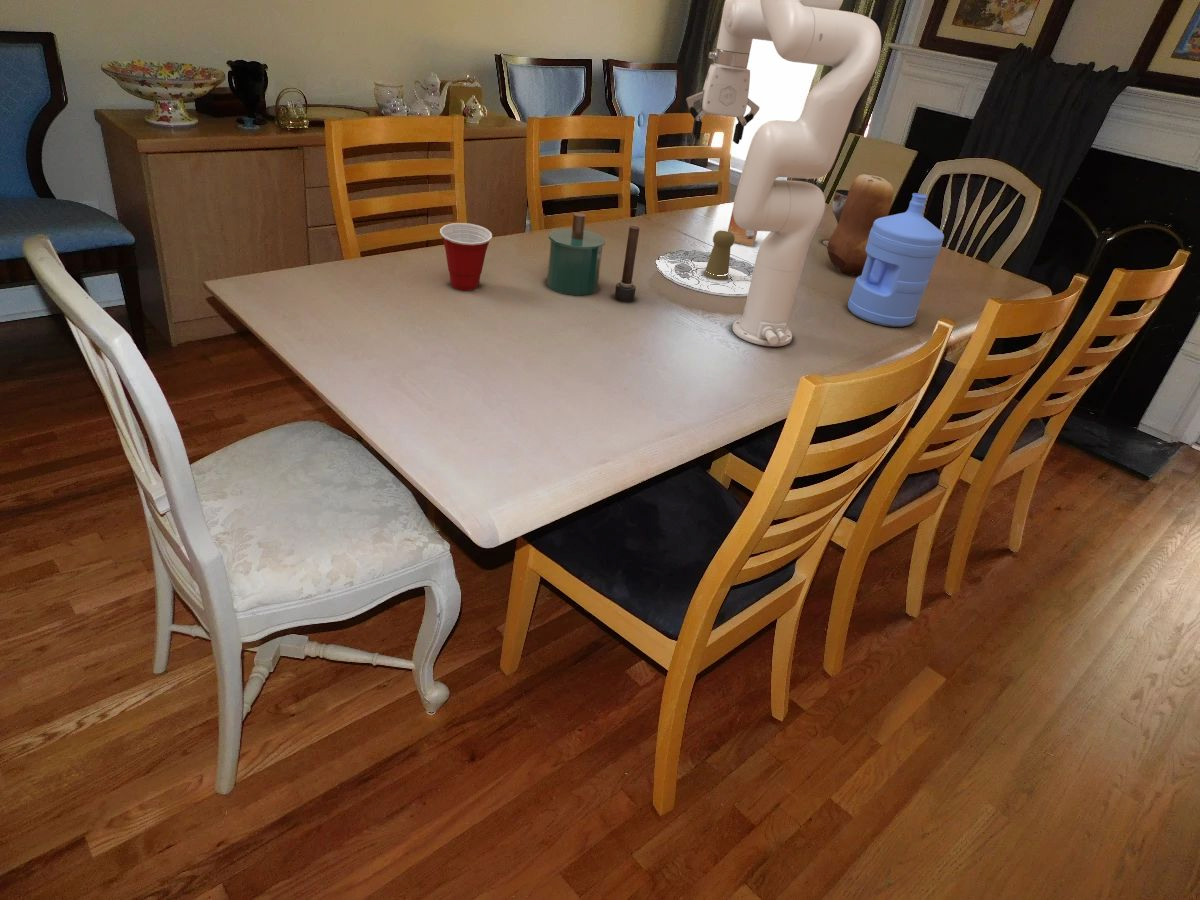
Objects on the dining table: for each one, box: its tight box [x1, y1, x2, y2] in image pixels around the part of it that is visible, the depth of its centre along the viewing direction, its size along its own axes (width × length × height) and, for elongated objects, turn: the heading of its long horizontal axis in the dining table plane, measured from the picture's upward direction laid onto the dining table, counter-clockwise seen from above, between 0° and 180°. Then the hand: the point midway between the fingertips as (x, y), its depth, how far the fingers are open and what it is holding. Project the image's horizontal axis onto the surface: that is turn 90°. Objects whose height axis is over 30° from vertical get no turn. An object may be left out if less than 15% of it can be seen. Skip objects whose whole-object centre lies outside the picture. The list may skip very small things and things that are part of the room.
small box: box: [727, 209, 758, 247], centre depth 216 cm, size 8×6×10 cm
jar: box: [546, 240, 604, 296], centre depth 171 cm, size 11×11×10 cm
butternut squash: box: [826, 173, 895, 276], centre depth 201 cm, size 14×13×25 cm
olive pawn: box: [703, 230, 735, 281], centre depth 188 cm, size 6×6×11 cm
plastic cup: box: [439, 222, 493, 291], centre depth 162 cm, size 11×11×12 cm
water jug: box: [847, 192, 945, 328], centre depth 174 cm, size 16×16×28 cm
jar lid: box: [548, 212, 606, 250], centre depth 166 cm, size 12×12×6 cm
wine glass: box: [822, 189, 850, 246], centre depth 224 cm, size 8×8×15 cm
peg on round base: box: [614, 225, 641, 303], centre depth 166 cm, size 4×4×16 cm
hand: (716, 140), depth 181 cm, fingers open, 9 cm apart
